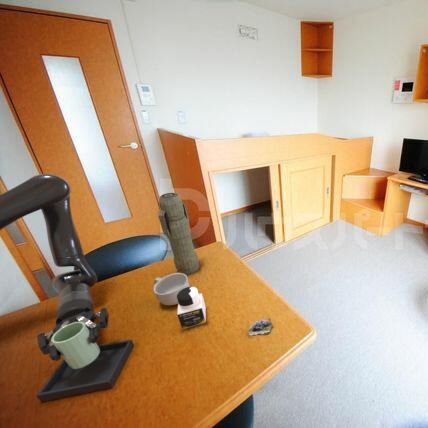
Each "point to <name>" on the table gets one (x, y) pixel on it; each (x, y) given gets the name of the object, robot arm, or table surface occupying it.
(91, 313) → the robot arm
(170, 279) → the teacup
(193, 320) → the medicine bottle
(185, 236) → the thermos
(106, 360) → the tray
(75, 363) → the celadon cup
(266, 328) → the blueberries
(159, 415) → the table surface
